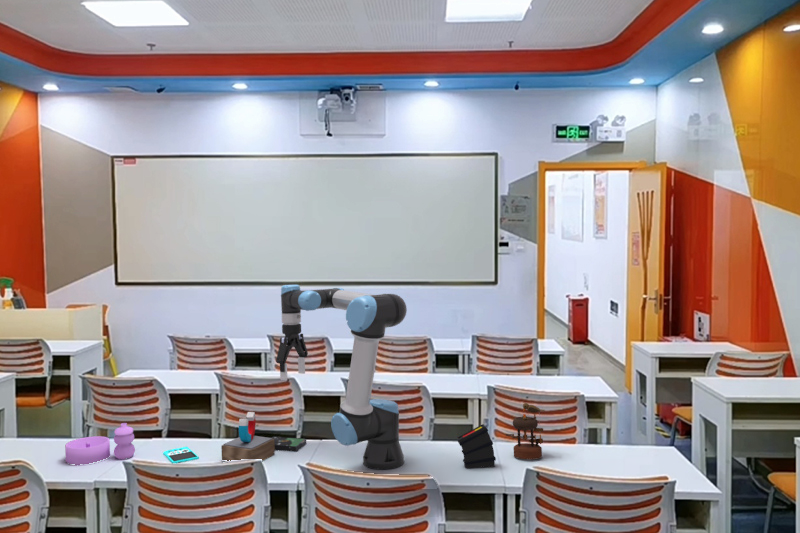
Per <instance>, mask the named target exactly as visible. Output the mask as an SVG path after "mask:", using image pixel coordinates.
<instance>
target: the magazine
mask: <svg viewBox="0 0 800 533" xmlns="http://www.w3.org/2000/svg"><path fill="white" fill-rule="evenodd" d="M457 443H458V444H459V446H460V447H461V453H462V454H463V459H462V462H463V465H464V467H465V469H481V468H495V466H496V465H495V464H496V463H495V461H496V460H497V458H496V456H495V450H494V447H493V445H494V442H493V441H492V439H491V436H490V433H489V430H488V428H487V426H485V425H484V424H483V423H482V424H479V425H478V426H477V427H474V428H472V429H471V430H469V431H466V432H465V433H463V434H461V435H459V436H457Z"/></svg>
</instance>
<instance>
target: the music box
mask: <svg viewBox="0 0 800 533" xmlns="http://www.w3.org/2000/svg"><path fill="white" fill-rule="evenodd" d="M522 408H523V409H522V412H526V410H527V411H528V412H529V413H533V415H534V416H527V415H526V413H523V414H522V416H517V417H516V416H515V418H514V419H513V420H512V426H513V427H514V429H515V430H516V431H517V435H515V434H514V433H511V434H510V433H508V434H507V433H506V434H505V436H508V437H509V436H511V438H512V439H517V444H515V445H514V446H513V457H514V458H517V459H522V460H537V459H538V460H539V459H541V458H543V448H542V447H541V446H540V445H542V444H543V442H544V440H543V439H544V438H542V434H539V438H537V437H536V436H537V435H536V434H534V432H540V433H541V432H544V428H543V427H538V426H539V422H538V420H537V417H536V414H537V413H539V416H541V414H540V412H545V411H546V409H540V408H539V406H538V407H537V406H536V405H533V404H530V403H528V402H524V403H523V405H522ZM521 431H523V435H521ZM528 431H530V436H529V435H528V434H527V432H528ZM522 438H523V440H524V441H527V440H528V439H529V441H528V442H522V441H521V439H522ZM521 442H522V443H521Z"/></svg>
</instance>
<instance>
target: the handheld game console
mask: <svg viewBox="0 0 800 533" xmlns="http://www.w3.org/2000/svg"><path fill="white" fill-rule="evenodd" d="M162 453H163V456H164V455H165V456H166V457H167V458H168V459H167V458H166V457H165V456H164V457H165V458H166V459H167V460H168V461H169V462H171V464H172V463H176V464H181V463H186V462H190V461H191V462H192V461H195V460H199V459H200V457H199V456H198V455H197V454H196V453H195V452H194V451H193V450H192V449H191V448H190V447H188V446H183V447H177V448H176V447H175V448H173V449H168V450H164V451H163V452H162Z"/></svg>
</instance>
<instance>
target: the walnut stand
mask: <svg viewBox="0 0 800 533" xmlns="http://www.w3.org/2000/svg"><path fill="white" fill-rule="evenodd" d="M275 451H276V450H275V445H274V439H273V438H272V437H268V436H267V437H265V436H258V435H254V437H253V439H252V441H251V442H242V441H241V440H240V436H238V437H236V438H234V439H232V440H229V441H228V442H225V443H223V444H222V445H221V461H222V460H227V461H229V460H230V461H231V460H241V459H262V460H263V461H265V460H267V459H269V458H271V457H273V456H275V453H276V452H275Z"/></svg>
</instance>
